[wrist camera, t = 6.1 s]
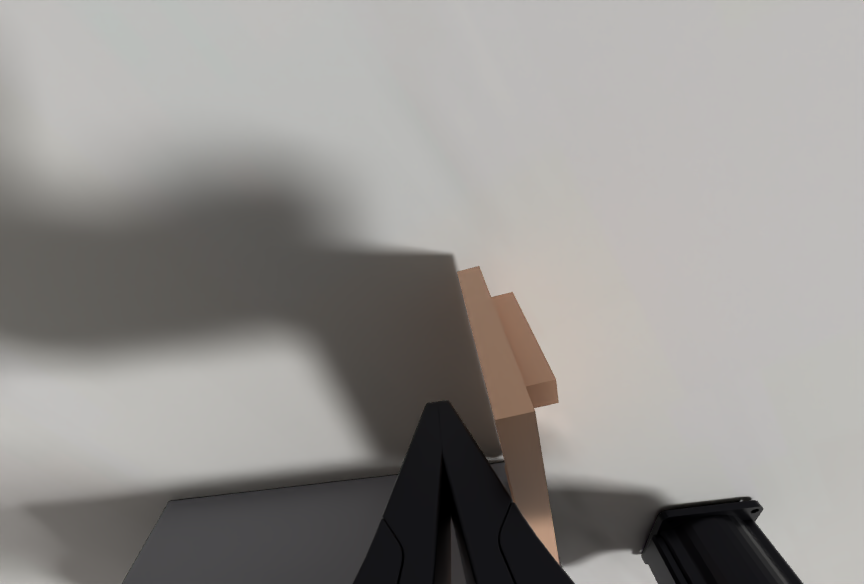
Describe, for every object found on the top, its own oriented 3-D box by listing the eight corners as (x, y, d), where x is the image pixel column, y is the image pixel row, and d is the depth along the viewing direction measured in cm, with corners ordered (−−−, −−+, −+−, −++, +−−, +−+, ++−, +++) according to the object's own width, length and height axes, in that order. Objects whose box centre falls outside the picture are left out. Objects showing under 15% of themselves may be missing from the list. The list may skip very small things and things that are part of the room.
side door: (537, 467, 19) (591, 627, 13) (505, 473, 19) (546, 635, 13) (501, 260, 12) (575, 402, 7) (454, 272, 13) (490, 421, 7)
